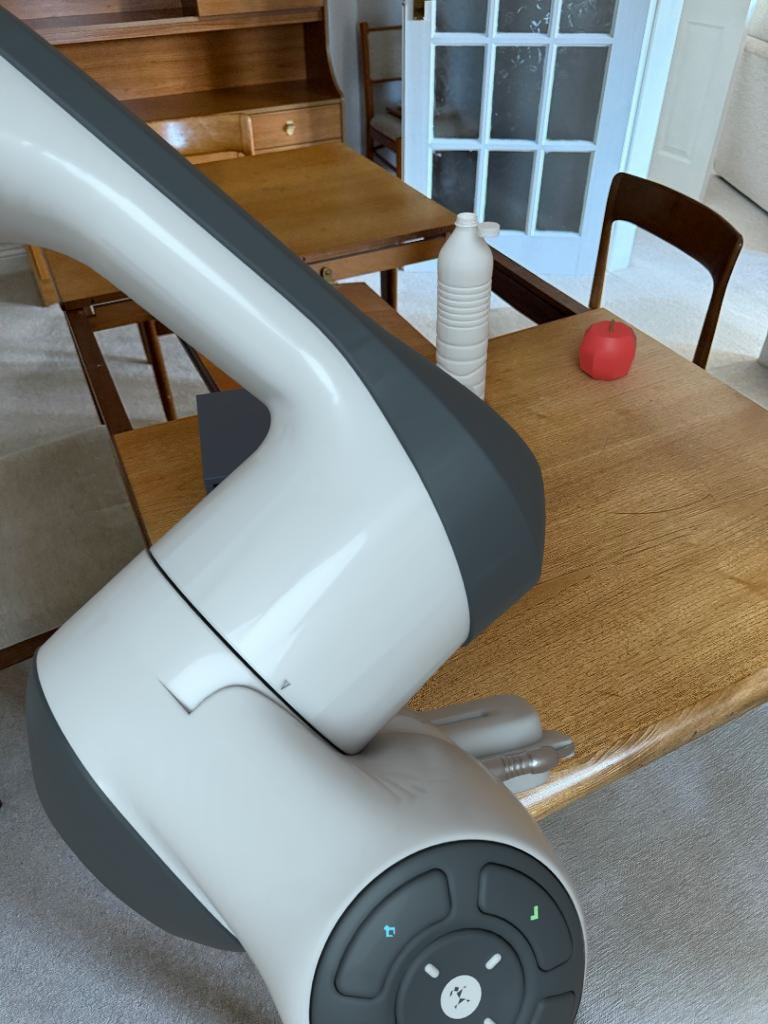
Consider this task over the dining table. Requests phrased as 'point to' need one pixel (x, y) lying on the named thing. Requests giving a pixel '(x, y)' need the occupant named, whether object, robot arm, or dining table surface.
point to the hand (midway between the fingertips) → (342, 742)
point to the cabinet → (229, 431)
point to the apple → (607, 350)
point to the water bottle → (465, 301)
